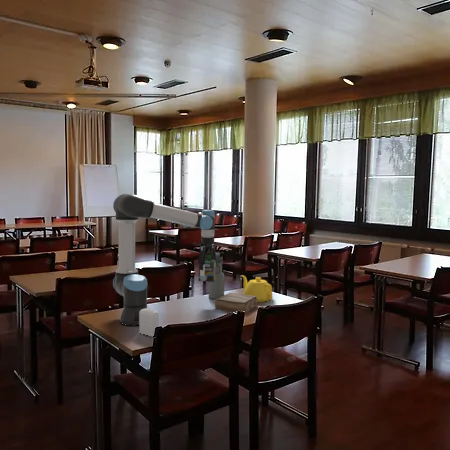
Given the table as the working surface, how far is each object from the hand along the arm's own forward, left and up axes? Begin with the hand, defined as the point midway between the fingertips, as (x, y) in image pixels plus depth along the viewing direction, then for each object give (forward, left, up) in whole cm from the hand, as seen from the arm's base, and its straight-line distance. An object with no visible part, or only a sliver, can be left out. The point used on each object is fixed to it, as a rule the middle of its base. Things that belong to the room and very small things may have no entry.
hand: (207, 274), depth 268 cm
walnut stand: (+2, -18, -18) cm, 26 cm away
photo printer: (-61, -3, -18) cm, 64 cm away
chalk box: (0, 0, -4) cm, 4 cm away
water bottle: (+17, +3, -18) cm, 25 cm away
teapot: (+27, -20, -18) cm, 38 cm away
